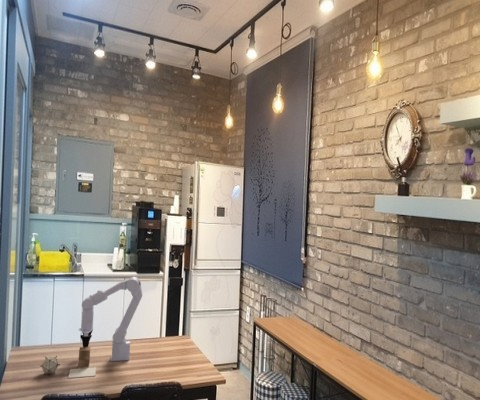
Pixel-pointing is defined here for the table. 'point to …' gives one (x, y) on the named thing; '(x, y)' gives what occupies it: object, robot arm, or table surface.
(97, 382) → the table surface
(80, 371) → the mat
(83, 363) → the walnut block
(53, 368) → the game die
